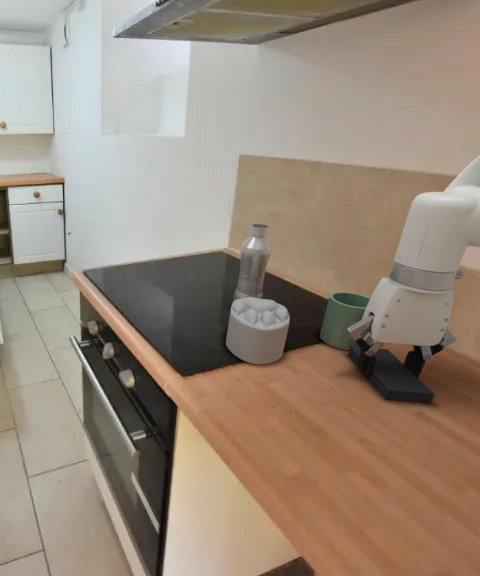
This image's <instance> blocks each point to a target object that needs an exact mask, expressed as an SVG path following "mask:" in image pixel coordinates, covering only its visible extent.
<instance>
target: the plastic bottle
mask: <svg viewBox="0 0 480 576" xmlns="http://www.w3.org/2000/svg"><path fill="white" fill-rule="evenodd" d="M269 228H270V226H269V225H267V224H262V223H254V224H251V225H250V230H249V233H248V234H249V235H250V236H249V237H247V238H246V239H245V240H244V242H243V243H242V244H241V246H240V266H239V267H240V268H239V274H238V275H239V276H238V280H237V284H236V288H235V291H234V294H233V295H232V296H233V297H232V303H233V302H234V301H235V300H237V299H241V298H247V297H253V298H258V299H264V293H263V292H264V291H263V290H264V279H265V275H266V270H267V267H268V264H269V261H270V258H271V255H272V246H271V244H270V242H269V240H268V238H267V236H269Z"/></svg>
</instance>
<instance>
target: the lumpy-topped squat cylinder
mask: <svg viewBox="0 0 480 576" xmlns="http://www.w3.org/2000/svg"><path fill="white" fill-rule="evenodd" d="M290 321H291V318H290V313H289V311H288V309H287V307H286V306H284V305H282V304H280V303H277V302H276V301H275V300H273V299H266V298H263V299H258V298H253V297H247V298H241V299H237V300H235V301H234V302H233V301H232V304H231V306H230V312H229V319H228V325H227V331H226V339H225V345H226V346H225V347H226V348H227V349H228V350H229V351H230V352H231V353H232V355H234V356H235V357H236V358H239V359H240V360H242V361H244V362H246V363H249V364H253V365H267V364H272V363H275V362H277V361H278V360H280V359H281V358H282V357H283V355H284V350H285V345H286V341H287V336H288V333H289V326H290Z"/></svg>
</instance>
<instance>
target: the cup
mask: <svg viewBox="0 0 480 576" xmlns="http://www.w3.org/2000/svg"><path fill="white" fill-rule="evenodd" d="M370 298H371V297H370V296H366V295H363V294H360V293H357V292H356V293H355V292H351V291H334V292H331V293H329V295H328V300H327V303H326V309H325V312H324V316H323V320H322V324H321V327H320V332H319V339H320V340H321V341H322V342H324V343H325V344H327V345H328V346H331V347H333V348H336V349H340V350H344V351H349V349H350V347H359V346H358V345H357V344H356V343H355V341H354V340H353V339H352V338H351V336H350V335H349V334H348V333H347V331H346V329H347V328H349V327H350V326H352V325H354V324H356V323H357V322H359V321H361V320H362V318H363V315H364V312H365V310H366V307H367V305H368V303H369V300H370ZM368 333H369V332H367V331H364V332H362V333H361V337H362V338H363V339H364V338H365V336H366V335H367V334H368Z"/></svg>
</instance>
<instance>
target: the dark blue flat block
mask: <svg viewBox="0 0 480 576" xmlns="http://www.w3.org/2000/svg"><path fill="white" fill-rule="evenodd" d="M360 351H361V348H360V347H350V349H349V350H348V353H347V356H348V357H349V358H350V359H351V360H352V361H353V363H354V364H355V365H356V366H357V361H358V358H359V355H360ZM374 356H375V357H376V358H377V359H376V362H375V365H374V368H373V371H372V373H371V376H370V377H366V378H367V379H368V380H369V382H370V383H371V384H372V385H373V386H374V388H376V389H377V391H378V393H380V395H381V396H382V397H383V398H384V399H385V400H391V401H403V402H412V403H424V404H431V403H432V402H433V399H434V396H435V393H434V392H433V391H432V390H431V389H430V388H429V387H428V386H427V385H426V384H425V383H424V382H423V381H422V380H421V379H420V378H419V377H418V378H417V377H416V376H415V375H414V374H413V373H412V372H411V371H410V370H409V369H408V368H407V367H406V366H405V365H404V362H402V361H401V360H400V359H399V358H397V357H396V356H395V355H394V354H393V353H392V352H391V351H390V350H389V349H388V348H380V349H379V350H378V351H377V352H376V353H375V354H374Z"/></svg>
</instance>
